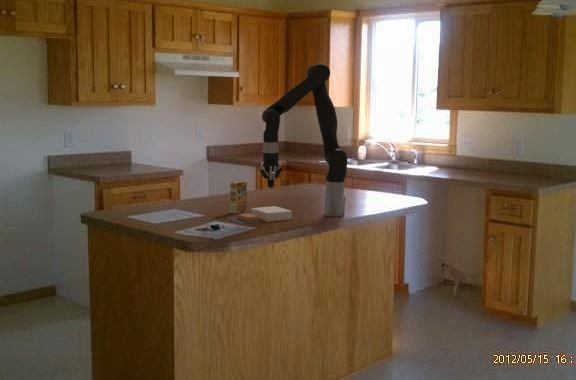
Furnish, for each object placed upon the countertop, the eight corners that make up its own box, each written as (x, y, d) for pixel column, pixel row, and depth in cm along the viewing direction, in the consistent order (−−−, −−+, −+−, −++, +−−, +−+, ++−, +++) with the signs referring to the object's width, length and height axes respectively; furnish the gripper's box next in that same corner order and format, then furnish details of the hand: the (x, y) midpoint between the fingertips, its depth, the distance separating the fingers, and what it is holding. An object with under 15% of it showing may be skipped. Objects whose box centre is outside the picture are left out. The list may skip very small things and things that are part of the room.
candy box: (236, 214, 335) (236, 183, 332) (229, 212, 337) (230, 182, 335) (247, 211, 342) (247, 181, 340) (240, 210, 344) (241, 180, 342)
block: (237, 214, 322) (237, 218, 322) (247, 217, 315) (247, 221, 315) (248, 213, 325) (247, 217, 326) (258, 216, 318) (258, 220, 319)
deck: (275, 214, 338) (275, 206, 337) (291, 219, 327) (291, 211, 326) (251, 216, 330) (251, 208, 329) (267, 221, 319) (267, 213, 318)
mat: (250, 216, 329) (250, 215, 329) (266, 221, 318) (266, 221, 318) (225, 218, 321) (225, 218, 321) (240, 224, 310) (240, 223, 310)
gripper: (277, 150, 332) (277, 185, 334) (254, 151, 324) (254, 187, 327) (286, 151, 326) (286, 187, 329) (263, 153, 318) (263, 189, 321)
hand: (270, 187), depth 328 cm, fingers closed
